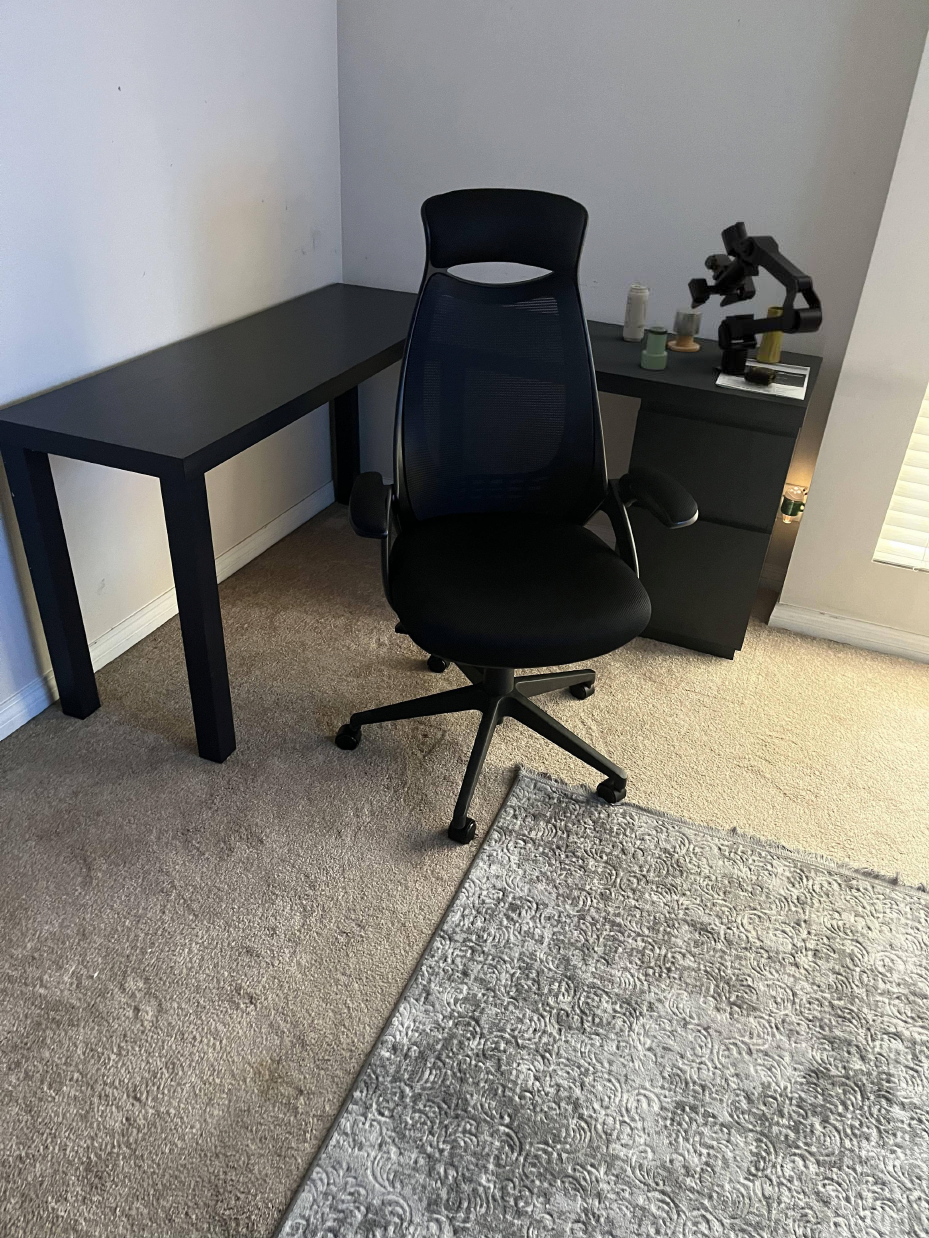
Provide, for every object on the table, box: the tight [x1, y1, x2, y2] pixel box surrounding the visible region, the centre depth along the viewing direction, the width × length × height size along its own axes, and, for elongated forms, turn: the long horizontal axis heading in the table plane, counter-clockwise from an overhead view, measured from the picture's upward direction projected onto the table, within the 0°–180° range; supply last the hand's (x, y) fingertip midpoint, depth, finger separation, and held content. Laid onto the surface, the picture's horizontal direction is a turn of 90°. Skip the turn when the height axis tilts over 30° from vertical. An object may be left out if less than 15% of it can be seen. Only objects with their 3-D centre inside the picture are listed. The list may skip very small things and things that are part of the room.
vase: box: [756, 305, 784, 364], centre depth 242 cm, size 6×6×14 cm
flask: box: [640, 326, 668, 371], centre depth 236 cm, size 7×7×10 cm
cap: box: [672, 306, 703, 336], centre depth 251 cm, size 7×7×6 cm
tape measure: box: [743, 366, 777, 387], centre depth 226 cm, size 7×7×4 cm
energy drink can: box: [622, 284, 650, 342], centre depth 257 cm, size 6×6×15 cm
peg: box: [667, 333, 701, 353], centre depth 252 cm, size 9×9×10 cm
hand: (706, 306), depth 242 cm, fingers open, 9 cm apart
